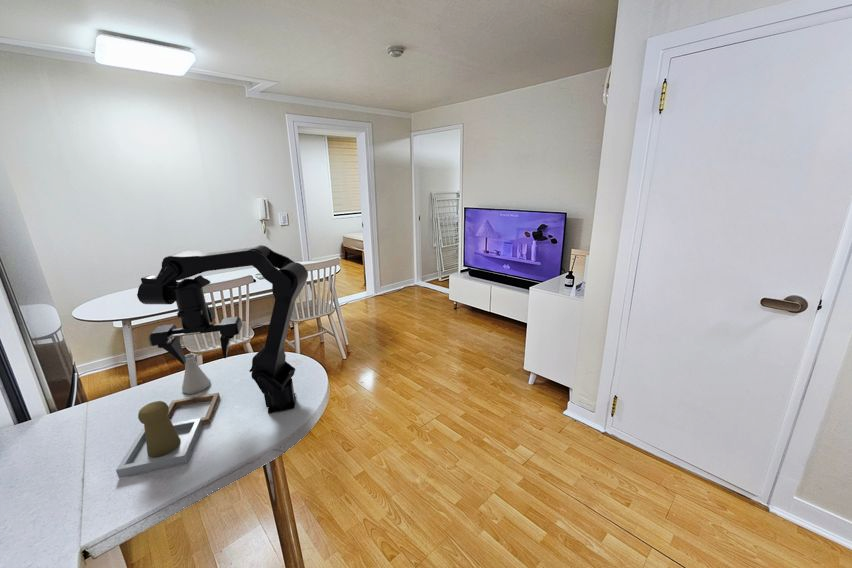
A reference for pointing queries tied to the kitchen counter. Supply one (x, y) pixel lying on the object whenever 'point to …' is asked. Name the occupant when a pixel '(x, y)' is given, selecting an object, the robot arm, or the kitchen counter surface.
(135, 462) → the tray
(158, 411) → the cork
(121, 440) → the kitchen counter surface
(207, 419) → the wooden picture frame
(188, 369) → the flask
